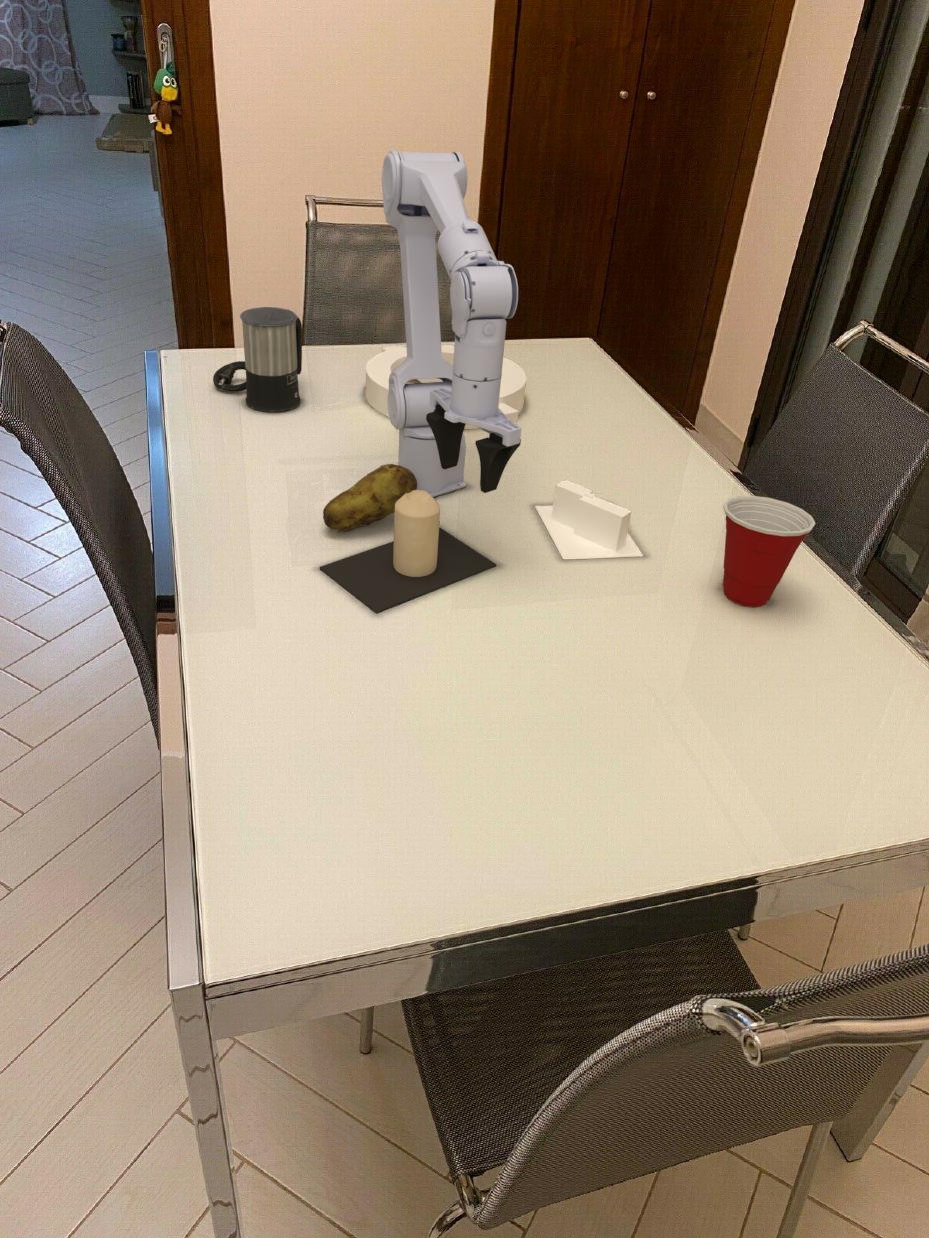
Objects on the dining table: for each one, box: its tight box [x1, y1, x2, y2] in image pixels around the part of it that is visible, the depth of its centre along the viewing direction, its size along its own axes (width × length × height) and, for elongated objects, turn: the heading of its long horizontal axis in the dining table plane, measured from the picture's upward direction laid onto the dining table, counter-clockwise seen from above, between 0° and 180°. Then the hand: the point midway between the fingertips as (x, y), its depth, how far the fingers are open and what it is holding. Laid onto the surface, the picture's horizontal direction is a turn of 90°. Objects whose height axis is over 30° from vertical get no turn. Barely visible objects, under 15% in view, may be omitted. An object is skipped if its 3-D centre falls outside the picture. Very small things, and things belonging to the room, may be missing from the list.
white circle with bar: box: [365, 344, 527, 430], centre depth 166 cm, size 28×28×5 cm
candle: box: [393, 490, 441, 577], centre depth 116 cm, size 6×6×10 cm
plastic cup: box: [722, 495, 817, 608], centre depth 116 cm, size 11×11×12 cm
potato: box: [322, 463, 417, 532], centre depth 125 cm, size 8×13×8 cm, turn 102°
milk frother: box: [212, 306, 303, 413], centre depth 157 cm, size 14×16×15 cm
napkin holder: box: [534, 479, 644, 560], centre depth 129 cm, size 15×11×6 cm
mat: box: [319, 526, 498, 614], centre depth 119 cm, size 19×12×1 cm, turn 130°
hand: (468, 478), depth 117 cm, fingers open, 7 cm apart
